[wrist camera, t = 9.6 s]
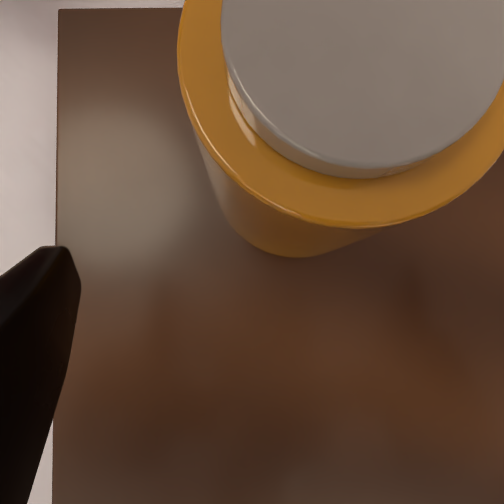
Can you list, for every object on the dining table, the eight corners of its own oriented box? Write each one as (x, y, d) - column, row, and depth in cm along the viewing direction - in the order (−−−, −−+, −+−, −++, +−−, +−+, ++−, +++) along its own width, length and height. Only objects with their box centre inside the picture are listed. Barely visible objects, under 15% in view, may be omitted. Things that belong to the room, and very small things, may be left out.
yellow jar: (326, 290, 12) (446, 299, 5) (180, 202, 12) (88, 87, 5) (410, 145, 12) (636, -42, 5) (267, 61, 12) (297, -235, 5)
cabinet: (427, 433, 20) (558, 541, 11) (132, 441, 19) (49, 556, 11) (412, 114, 21) (522, 3, 12) (132, 118, 20) (56, 7, 12)
